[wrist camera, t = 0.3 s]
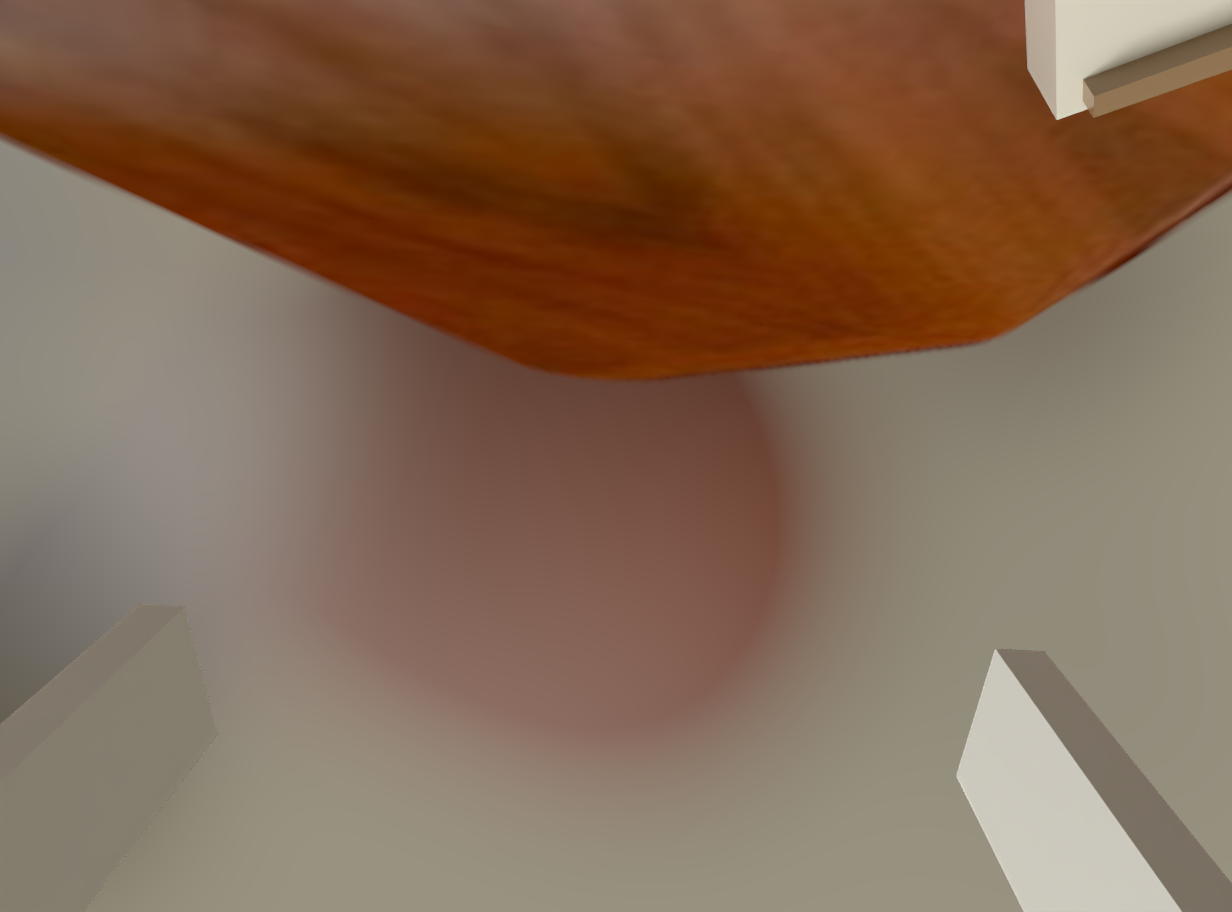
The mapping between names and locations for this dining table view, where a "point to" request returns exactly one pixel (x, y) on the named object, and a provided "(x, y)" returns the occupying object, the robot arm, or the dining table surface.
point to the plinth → (1123, 49)
